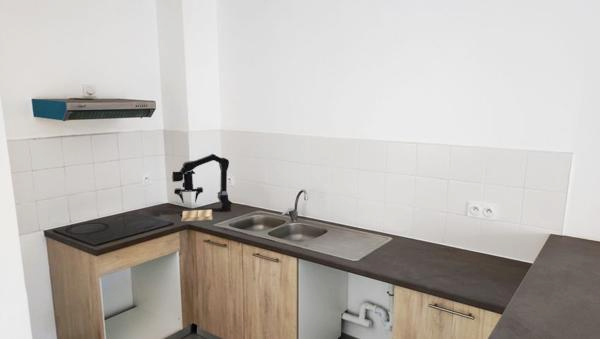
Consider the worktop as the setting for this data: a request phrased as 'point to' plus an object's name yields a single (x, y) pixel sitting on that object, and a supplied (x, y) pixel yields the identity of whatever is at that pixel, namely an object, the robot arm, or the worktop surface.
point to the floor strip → (197, 218)
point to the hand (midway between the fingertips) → (189, 202)
